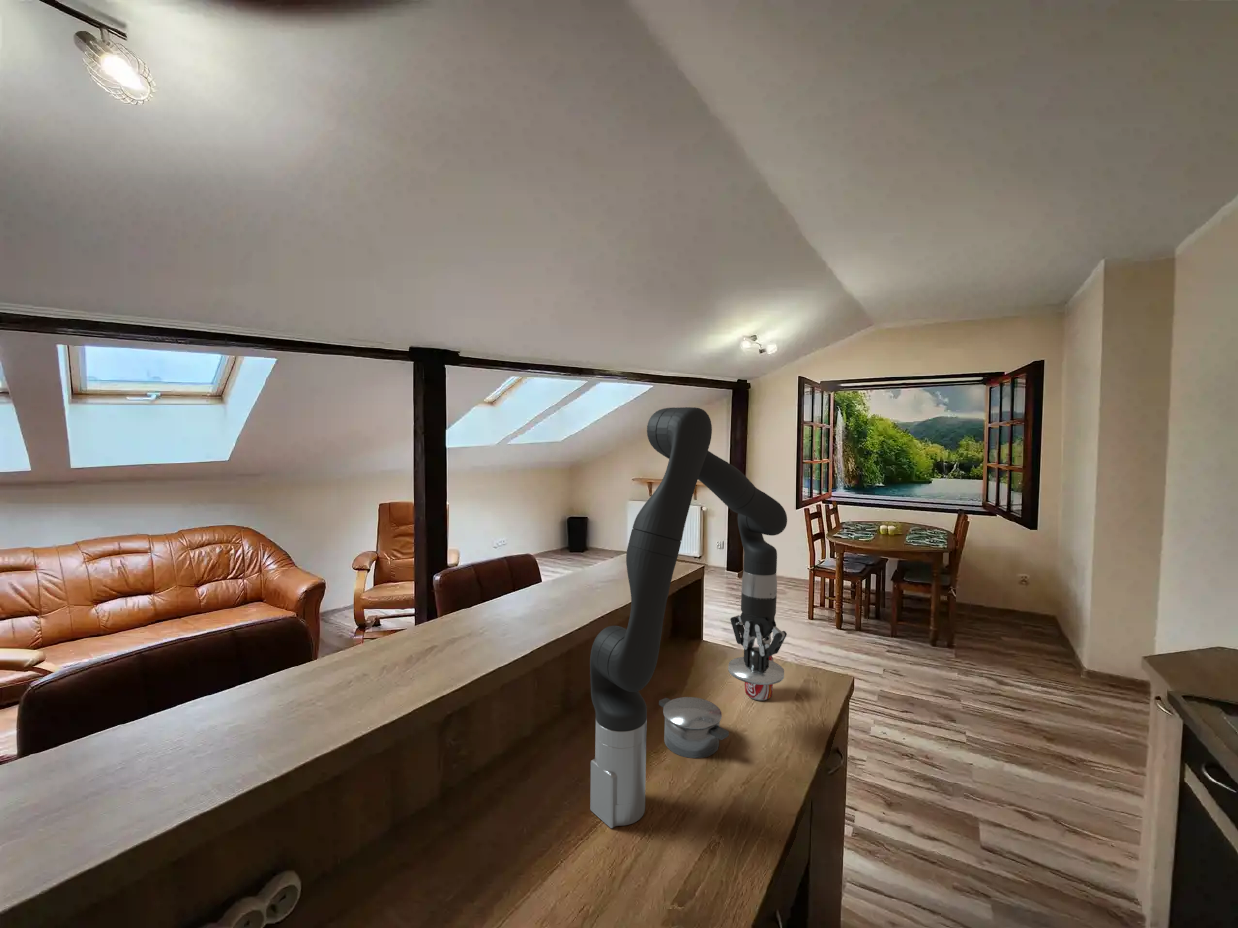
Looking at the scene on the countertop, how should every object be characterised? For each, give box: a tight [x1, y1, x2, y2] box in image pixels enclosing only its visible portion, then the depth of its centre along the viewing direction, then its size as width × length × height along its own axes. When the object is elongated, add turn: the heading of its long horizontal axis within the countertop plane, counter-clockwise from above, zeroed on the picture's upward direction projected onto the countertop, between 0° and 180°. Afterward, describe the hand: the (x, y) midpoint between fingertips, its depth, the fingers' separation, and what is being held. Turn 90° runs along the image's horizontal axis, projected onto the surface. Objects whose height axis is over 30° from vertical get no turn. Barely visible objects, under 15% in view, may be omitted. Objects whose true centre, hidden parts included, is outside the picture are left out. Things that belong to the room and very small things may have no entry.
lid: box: [727, 648, 785, 685], centre depth 122 cm, size 12×12×5 cm
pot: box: [658, 696, 730, 759], centre depth 122 cm, size 13×18×7 cm
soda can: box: [744, 646, 774, 702], centre depth 143 cm, size 7×7×12 cm
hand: (755, 667), depth 122 cm, fingers closed on lid, 3 cm apart
